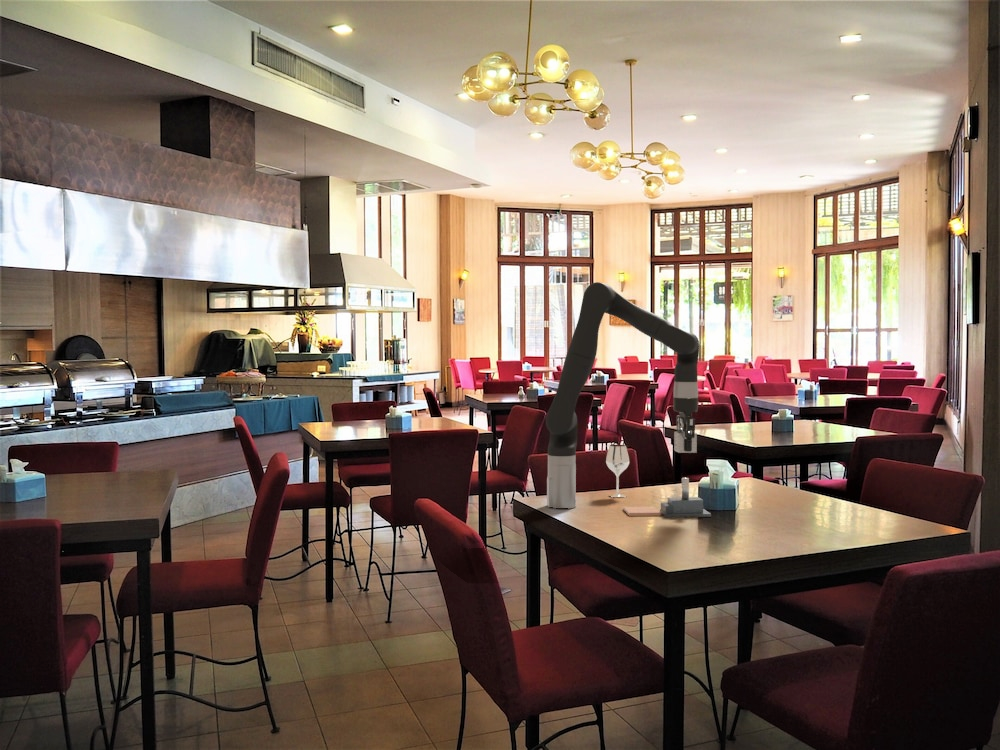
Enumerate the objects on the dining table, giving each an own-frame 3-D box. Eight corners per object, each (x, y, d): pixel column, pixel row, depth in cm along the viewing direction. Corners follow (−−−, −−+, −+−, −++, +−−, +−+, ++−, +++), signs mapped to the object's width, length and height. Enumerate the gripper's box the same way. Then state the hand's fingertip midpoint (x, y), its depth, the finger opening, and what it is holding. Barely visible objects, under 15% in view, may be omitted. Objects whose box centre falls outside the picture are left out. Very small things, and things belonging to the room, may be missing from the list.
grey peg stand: (666, 517, 263) (666, 480, 262) (660, 512, 271) (660, 476, 270) (711, 516, 263) (711, 479, 263) (703, 511, 271) (703, 476, 271)
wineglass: (630, 498, 296) (630, 446, 295) (607, 498, 296) (607, 446, 296) (627, 494, 304) (627, 444, 304) (604, 494, 304) (604, 444, 304)
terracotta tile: (628, 516, 265) (629, 512, 265) (622, 509, 275) (622, 506, 275) (660, 515, 266) (660, 512, 266) (653, 509, 276) (653, 506, 276)
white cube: (678, 452, 263) (678, 433, 263) (674, 450, 269) (674, 431, 269) (696, 452, 264) (696, 433, 263) (691, 450, 269) (691, 431, 269)
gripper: (668, 394, 273) (667, 447, 273) (679, 397, 258) (679, 453, 259) (691, 394, 273) (690, 447, 274) (704, 397, 259) (703, 453, 259)
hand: (685, 449), depth 266 cm, fingers closed on white cube, 5 cm apart
